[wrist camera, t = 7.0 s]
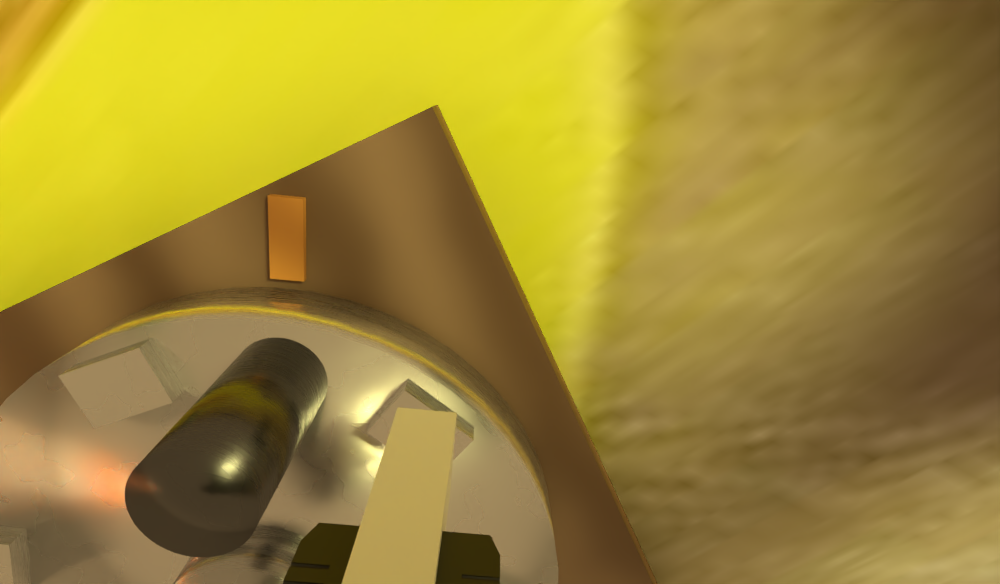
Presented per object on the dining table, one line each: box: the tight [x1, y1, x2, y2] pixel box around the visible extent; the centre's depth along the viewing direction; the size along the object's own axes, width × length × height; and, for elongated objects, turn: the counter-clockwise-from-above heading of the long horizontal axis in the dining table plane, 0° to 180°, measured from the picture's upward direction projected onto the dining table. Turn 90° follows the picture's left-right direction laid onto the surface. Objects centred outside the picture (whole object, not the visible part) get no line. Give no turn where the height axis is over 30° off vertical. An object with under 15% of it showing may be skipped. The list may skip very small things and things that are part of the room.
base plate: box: [0, 105, 657, 584], centre depth 26 cm, size 26×26×2 cm
